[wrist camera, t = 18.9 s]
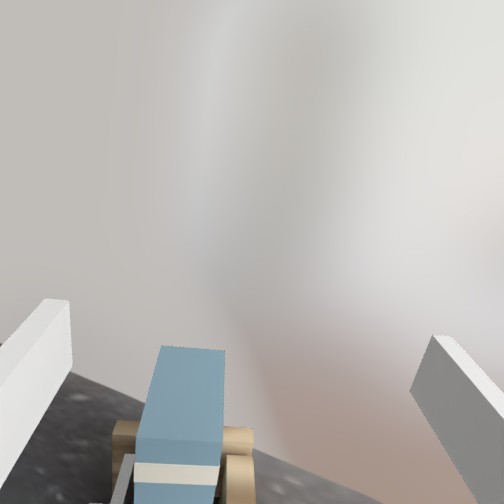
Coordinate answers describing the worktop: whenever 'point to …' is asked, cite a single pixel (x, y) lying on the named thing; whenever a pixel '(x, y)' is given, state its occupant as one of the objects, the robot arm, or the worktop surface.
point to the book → (181, 429)
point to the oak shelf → (231, 461)
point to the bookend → (124, 482)
